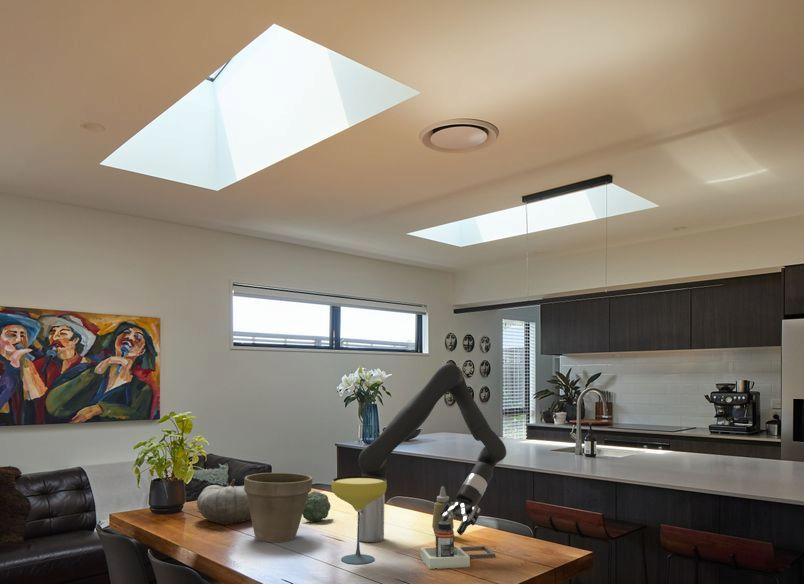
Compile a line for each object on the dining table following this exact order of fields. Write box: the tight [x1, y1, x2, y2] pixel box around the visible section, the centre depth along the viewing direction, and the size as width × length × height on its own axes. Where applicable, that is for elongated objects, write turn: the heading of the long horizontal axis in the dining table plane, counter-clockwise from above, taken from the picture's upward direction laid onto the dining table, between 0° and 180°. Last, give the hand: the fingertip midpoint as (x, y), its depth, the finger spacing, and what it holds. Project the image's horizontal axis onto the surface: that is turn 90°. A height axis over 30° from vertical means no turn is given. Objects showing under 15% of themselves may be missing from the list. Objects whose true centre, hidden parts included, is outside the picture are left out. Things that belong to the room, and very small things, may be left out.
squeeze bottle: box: [431, 486, 455, 537], centre depth 232 cm, size 8×8×18 cm
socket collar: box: [459, 545, 496, 559], centre depth 208 cm, size 10×10×1 cm
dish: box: [419, 545, 471, 570], centre depth 198 cm, size 13×13×3 cm
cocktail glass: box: [331, 475, 388, 565], centre depth 201 cm, size 18×18×25 cm
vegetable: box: [302, 491, 332, 523], centre depth 257 cm, size 12×13×15 cm
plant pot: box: [243, 472, 314, 543], centre depth 228 cm, size 25×25×22 cm
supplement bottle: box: [435, 521, 455, 557], centre depth 199 cm, size 6×6×11 cm
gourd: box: [196, 478, 252, 526], centre depth 253 cm, size 25×25×17 cm
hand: (449, 531), depth 201 cm, fingers open, 8 cm apart
